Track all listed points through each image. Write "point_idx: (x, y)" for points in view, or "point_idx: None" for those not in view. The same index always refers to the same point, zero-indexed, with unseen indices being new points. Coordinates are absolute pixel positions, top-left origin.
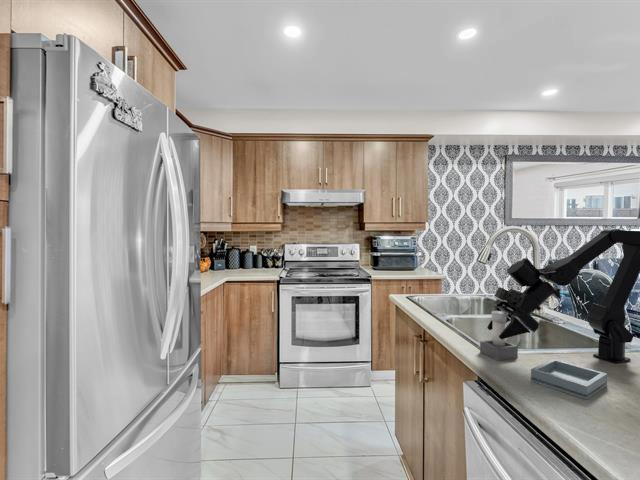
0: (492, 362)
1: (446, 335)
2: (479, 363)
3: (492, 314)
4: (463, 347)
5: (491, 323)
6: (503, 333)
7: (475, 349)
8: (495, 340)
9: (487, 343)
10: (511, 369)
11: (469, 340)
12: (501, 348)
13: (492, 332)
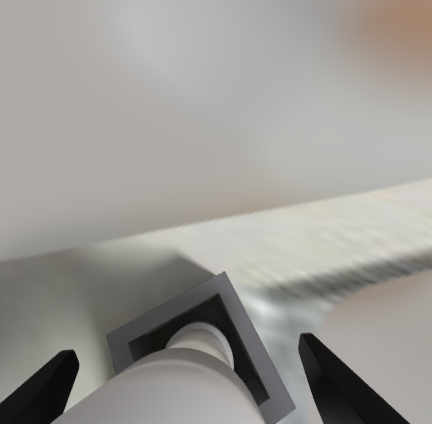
0: (121, 298)
1: (405, 201)
2: (114, 246)
3: (135, 373)
4: (276, 231)
5: (329, 382)
6: (12, 396)
7: (263, 271)
8: (171, 344)
9: (191, 299)
10: (41, 356)
11: (378, 276)
12: (112, 356)
13: (202, 340)
